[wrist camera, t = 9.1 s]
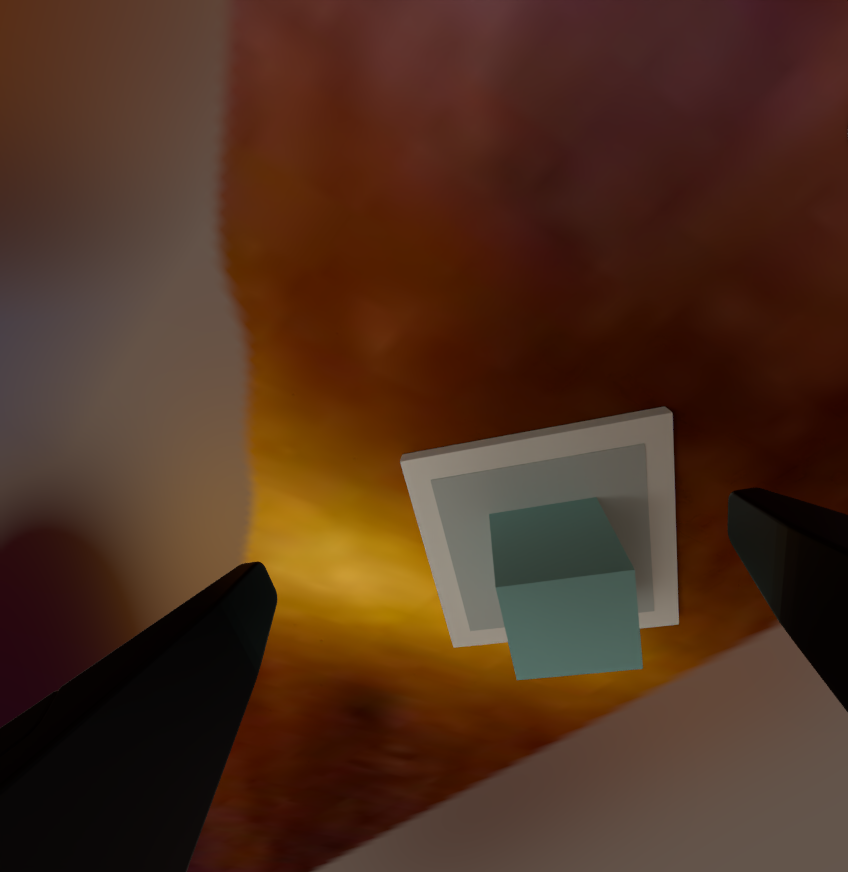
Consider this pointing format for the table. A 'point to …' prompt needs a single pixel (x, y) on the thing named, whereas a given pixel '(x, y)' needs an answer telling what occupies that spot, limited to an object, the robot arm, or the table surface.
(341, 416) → the table surface
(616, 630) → the cube
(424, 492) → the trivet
